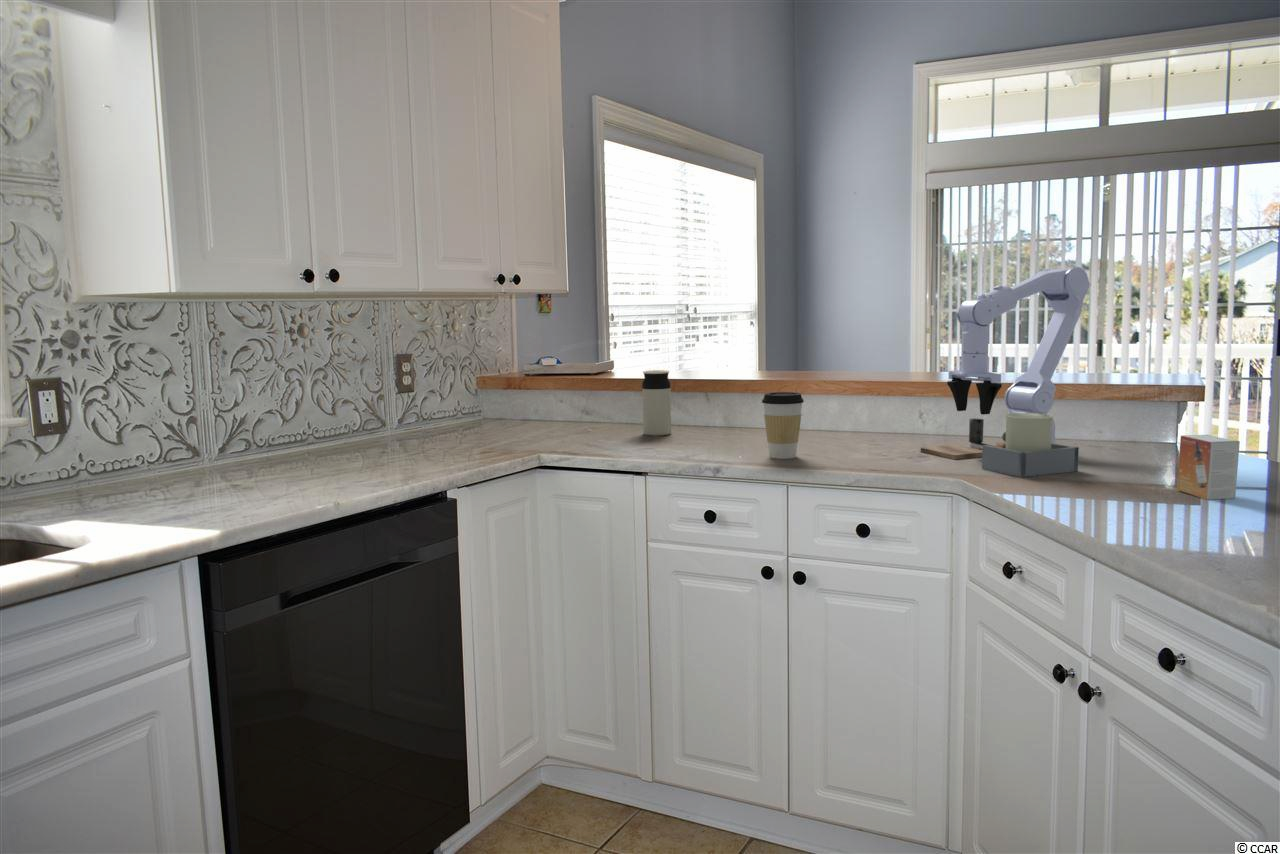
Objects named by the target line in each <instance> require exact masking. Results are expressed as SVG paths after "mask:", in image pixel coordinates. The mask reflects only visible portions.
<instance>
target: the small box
mask: <svg viewBox="0 0 1280 854" xmlns="http://www.w3.org/2000/svg"><path fill="white" fill-rule="evenodd" d="M1178 453H1179V455H1178V456H1179V457H1178V470H1177V480H1176V491H1179V492H1183V493H1186V494H1188V495H1191V496H1195V497H1198V498H1201V499H1204V500H1206V501H1209V500H1229V499H1230V500H1232V499H1236V492H1237V491H1236V490H1237V479H1238V469H1239V468H1238V467H1239V454H1240V441H1239V440H1238V439H1229V438H1224V437H1219V436H1214V435H1210V434H1186V435H1183V434H1182V435H1180V441H1179V452H1178Z"/></svg>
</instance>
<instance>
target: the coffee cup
mask: <svg viewBox="0 0 1280 854" xmlns="http://www.w3.org/2000/svg"><path fill="white" fill-rule="evenodd" d="M804 402H805V400H804V398H803V397H802V394H801V393H800V392H796V391H795V392H794V391H793V392H792V391H791V392H790V391H780V392H779V391H778V392H776V391H773V392H766V393H764V395H763V398H762V399H761V403H762V404H763V411H764V415H763V416H764V417H763V418H764V424H765V433H766V440H767V444H768V452H769V458H772V459H777V460H778V459H780V460H782V459H783V460H786V459H795V458H796V457H797V451H798V450H797V449H798V443H799V437H800V429H801V421H802V408H803V407H802V406H803V403H804Z"/></svg>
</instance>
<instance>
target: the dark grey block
mask: <svg viewBox="0 0 1280 854" xmlns="http://www.w3.org/2000/svg"><path fill="white" fill-rule="evenodd" d="M984 421H985V420H984V418H977V417H975V418H969V425H968V426H969V427H968V428H969V429H968V430H969V433H968V442H969V448H974V449H979V450H982V449H983V445H988V446H994V447H999V448H1004V449H1006V431H1004V432H1003V434H1002V435H1001V436H1002V437H1001V438H1002V441H1003V442H1000V443H996V444H990V443H989V444H988V443H985V442H984Z"/></svg>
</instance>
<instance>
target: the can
mask: <svg viewBox="0 0 1280 854" xmlns="http://www.w3.org/2000/svg"><path fill="white" fill-rule="evenodd" d="M1047 414H1048V413H1047ZM1047 414H1039V413H1038V414H1036V413H1014V414H1011V413H1007V414H1006V415H1005V432H1006V442H1005V443H1006V449H1010V450H1015V451H1020V452H1029V451H1039V450H1049V449H1051V436H1052V420H1054V416H1053V415H1052V414H1048V415H1047Z"/></svg>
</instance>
